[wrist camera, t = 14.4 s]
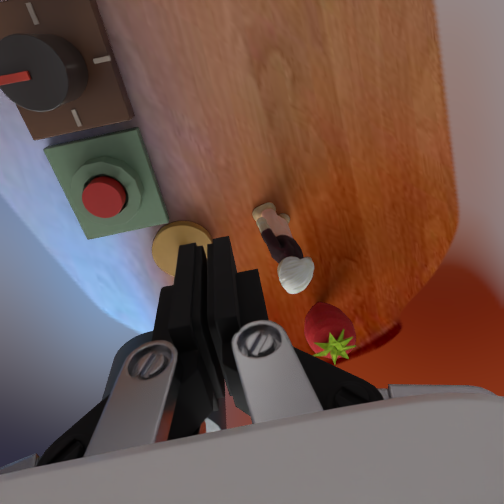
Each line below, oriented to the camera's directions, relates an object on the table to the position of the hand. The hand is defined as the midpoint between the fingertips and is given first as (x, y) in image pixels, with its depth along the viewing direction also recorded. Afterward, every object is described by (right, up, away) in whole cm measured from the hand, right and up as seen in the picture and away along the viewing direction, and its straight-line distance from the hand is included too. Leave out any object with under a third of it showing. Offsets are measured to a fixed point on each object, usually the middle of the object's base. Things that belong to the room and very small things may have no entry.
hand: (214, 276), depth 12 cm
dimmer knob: (-15, +16, +17) cm, 28 cm away
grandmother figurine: (+4, +5, +29) cm, 30 cm away
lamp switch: (-13, +6, +23) cm, 27 cm away
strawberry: (+10, -6, +36) cm, 38 cm away
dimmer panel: (-15, +17, +19) cm, 30 cm away
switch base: (-13, +8, +25) cm, 29 cm away
